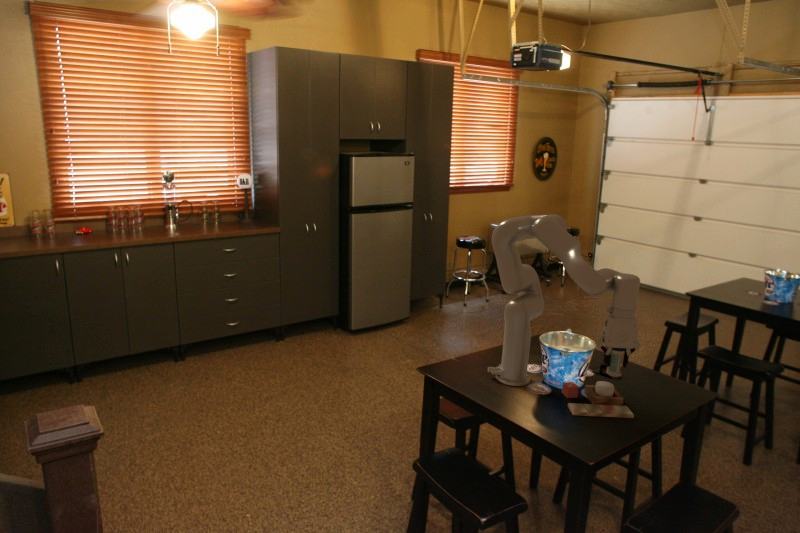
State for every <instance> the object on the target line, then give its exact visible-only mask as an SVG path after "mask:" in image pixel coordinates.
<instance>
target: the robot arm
mask: <svg viewBox="0 0 800 533" xmlns="http://www.w3.org/2000/svg"><path fill="white" fill-rule="evenodd" d="M567 228H568V225H567V221H566V220H565V219H564V217H562V216H561V215H558V214H556V213H555V214H542V215H541V214H538V215H533V214H532V215H522V216H517V217H516V216H515V217H511V218H508V219H507V218H506V219H505V220H502V221H501V222H500V223H498V224H497V226H496V227H495V228H494V229H493V232H492V234H491V246H492V249H493V252H494V256H495V259H496V265H497V266H496V267H497V269H498V274H499V279H500V283H501V288H502V289H503V291H505V293H507V294H510V295H516V294H517V296H516V297H514V298H511V299H510V300H509V301H508V302H507V303H506V304H505V306H504V310H503V316H504V317H503V319H504V331H503V344H502V353H501V363H499V364H498V366H496V367H494V366H487V373H491V374H492V375H495V379H496V380H497V381H498V382H499V383H501V384H504V385H507V386H511V387H524V386H527V385H529V384H530V383H531V377H530V374H528V366H529V365H528V364H529V358H530V357H529V356H530V355H529V354H530V349H531V348H530V347H531V346H530V345H531V338H532V330H531V321H532V320H533V319H536V318H538V317H539V316H541V315H542V313H543V312H544V309H545V301H544V297H543V296H544V295H543V291H542V287H541V284H540V282H541V281H540V279H539V275H538V273H537V271H536V269H535V268H534V267H532V265H529V264H528V263H527V264H526V263H522V260H521V254H520V252H519V250H518V248H517V247H516V243H517V242H521V241H525V240H526V241H527V240H531V239H532V240H533V239H536V240H538V241H539V242H540V243H541V244H542V245H544V246H545V247H546V248H547V249H548V250H549V251H550V252H551V253H552V254H553V255H554V256H555V257H556V258H558V259H559V260H560V261H561V263H562V266H563V268H564V269H565V272H566V273H567V274H568V277H569V278H571V280H572V281H574V282H573V283H575V284H576V285H577V286H579V288H581V290H583V291H584V292H585V293H587V294H588V295H590V296H593V297H594V296H595V297H599V296H602V295H605V294H606V293H610V292H612V296H611V304H610V306H609V307H608V308H606V309H605V312H606V313H608V314H607V316H606V318H605V321H604V325H603V330H602V333H601V336H599V338H598V339H597V340H596V341H595V342H594V343H595V345H596V346H597V347H598V348H599V349H601V350H602V352H603V360H602V363H604V364H605V365H606V366H607V367H609V366H610V359H611V355H610V352H611V349H612V348H625V354H624V360H623V367H622V368H624V369H625V368H627V365H628V363H629V357H631V355H632V354H634V352H635V351H636V350H639V349H640V348H641V347H642V344H641V343H640V342H639V339H638V337H639V336H638V335H639V334H638V333H639V332H638V330H639V324H638V323H639V322H638V321H639V320H638V318H637V317H636V311H637V305H638V299H639V293H640V286H641V279H640V277H639V276H638V275H635V274H632V273H623V272H620V271H617V270H615V269H613V268H607V267H606V268H605V267H604V268H601V269H598V270H595V269H594V268H593V267H592V266H591V265H590V264H589V263H588V262H587V261H586V260H585V258H584V257H583V255H582V250H581V249H582V248H581V247H582V246H581V242H580V241H579V240H578V239H576V238H575V237H574V236H573V235H572V234H571V233H569V231H567ZM603 344H604V345H603Z"/></svg>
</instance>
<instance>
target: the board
mask: <svg viewBox="0 0 800 533" xmlns="http://www.w3.org/2000/svg"><path fill="white" fill-rule="evenodd" d="M567 408H568V409H569V411H570V412H571V414H572V416H585V417H600V418H601V417H604V418H605V417H606V418H609V417H610V418H624V419H634V418H635V415H634V413H633V412H632V411H631V409H630V408H629V407H628V406H627V405H623V406H619V405H597V404H592V403H573V402H568V403H567Z"/></svg>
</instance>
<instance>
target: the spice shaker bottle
mask: <svg viewBox="0 0 800 533" xmlns="http://www.w3.org/2000/svg"><path fill="white" fill-rule="evenodd" d="M624 354H625V348H612V349H611V352H610V355H611V359H610V366H609V367H607V370H605V371H606V373H607V374H608V375H610V376H612V377H619V376H620V377H622V372H623V368H624V367H623V360H624ZM620 377H619V378H620Z"/></svg>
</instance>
